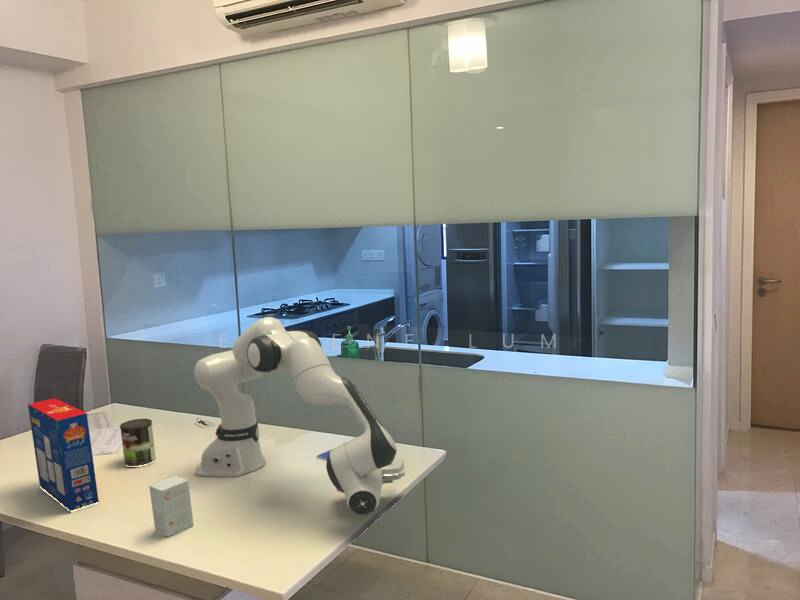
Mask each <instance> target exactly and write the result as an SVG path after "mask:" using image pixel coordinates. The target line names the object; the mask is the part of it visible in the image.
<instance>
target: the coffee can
mask: <svg viewBox="0 0 800 600" xmlns="http://www.w3.org/2000/svg"><path fill="white" fill-rule="evenodd" d="M152 423H153V420H152V419H149V418H135V419H131V420H128V421H124V422H122V423H121V424H120V425H119V429H120V433H121V441H122V450H123V452H122V453H123V458H124V465H125V464H126V465H128V466H139V465H144V464H148V463H150V462H152V461H154V460H155V459H156V460H157V457H156V452H155V451H156V449H155V441H154V432H153V424H152Z"/></svg>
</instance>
